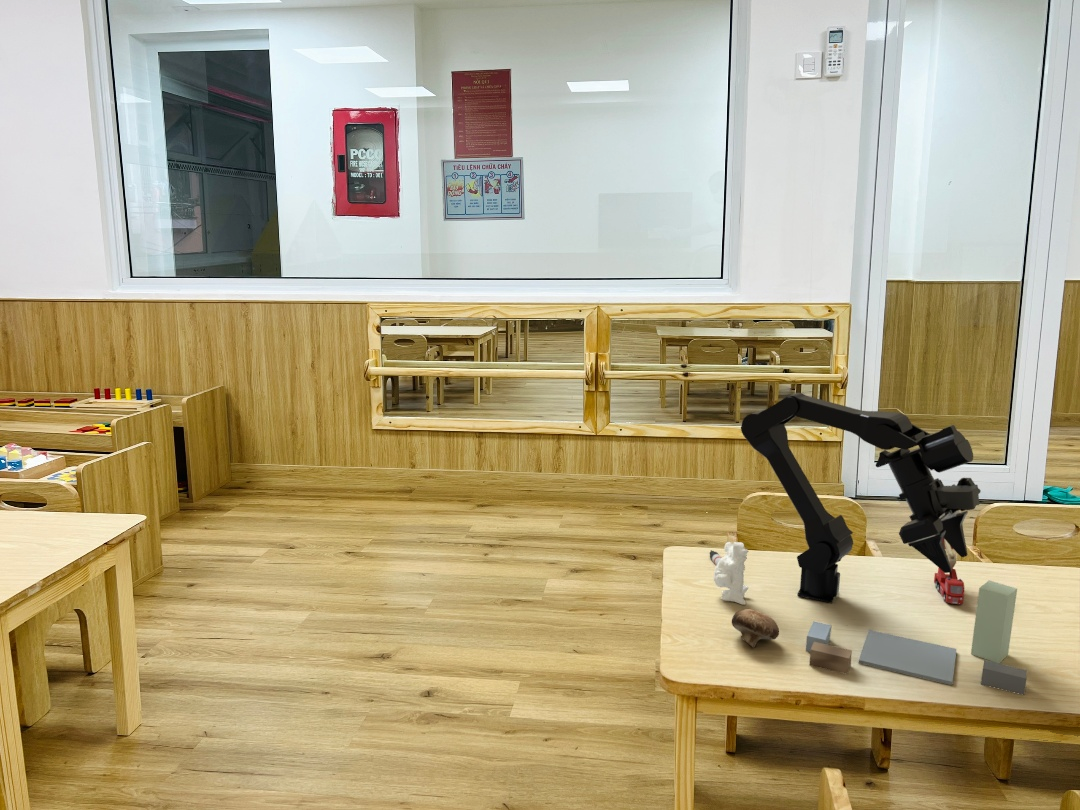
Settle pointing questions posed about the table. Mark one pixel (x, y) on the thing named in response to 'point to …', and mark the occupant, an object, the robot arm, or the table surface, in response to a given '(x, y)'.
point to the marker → (715, 557)
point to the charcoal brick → (1004, 677)
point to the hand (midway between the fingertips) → (956, 564)
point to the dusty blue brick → (818, 634)
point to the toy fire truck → (949, 580)
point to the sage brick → (993, 621)
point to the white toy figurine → (732, 572)
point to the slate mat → (909, 657)
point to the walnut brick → (830, 657)
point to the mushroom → (754, 626)
